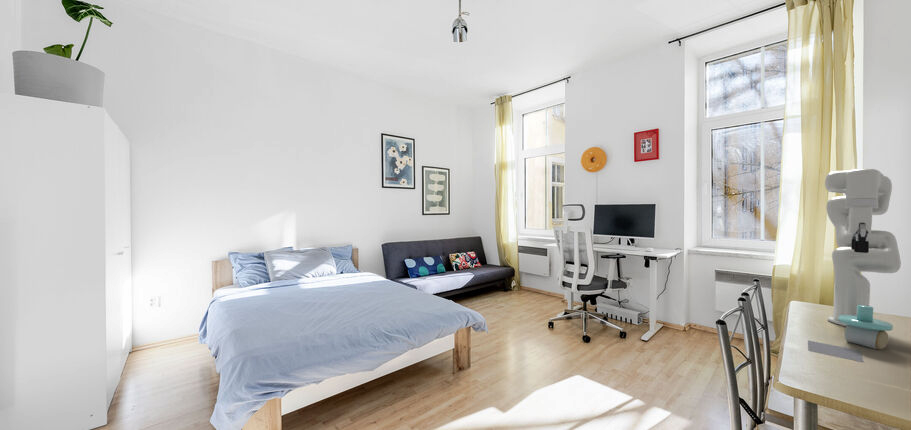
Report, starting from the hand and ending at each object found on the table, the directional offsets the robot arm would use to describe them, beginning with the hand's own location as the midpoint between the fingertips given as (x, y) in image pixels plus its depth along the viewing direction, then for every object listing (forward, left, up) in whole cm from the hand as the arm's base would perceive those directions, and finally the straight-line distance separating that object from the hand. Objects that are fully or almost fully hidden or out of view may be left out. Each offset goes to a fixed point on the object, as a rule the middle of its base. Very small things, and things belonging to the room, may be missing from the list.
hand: (859, 251), depth 123 cm
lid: (+7, +1, -25) cm, 26 cm away
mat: (+21, -6, -32) cm, 39 cm away
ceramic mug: (+5, +2, -33) cm, 33 cm away
